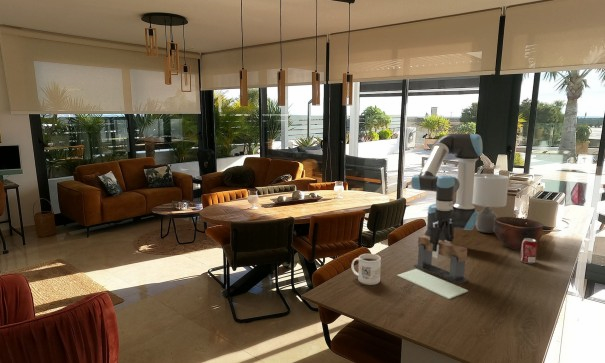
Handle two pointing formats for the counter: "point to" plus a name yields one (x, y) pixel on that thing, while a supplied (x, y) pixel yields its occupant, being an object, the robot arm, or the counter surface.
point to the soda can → (528, 250)
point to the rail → (444, 248)
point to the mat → (432, 283)
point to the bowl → (516, 230)
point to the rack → (455, 268)
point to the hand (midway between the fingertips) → (440, 255)
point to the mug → (368, 268)
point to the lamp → (489, 198)
